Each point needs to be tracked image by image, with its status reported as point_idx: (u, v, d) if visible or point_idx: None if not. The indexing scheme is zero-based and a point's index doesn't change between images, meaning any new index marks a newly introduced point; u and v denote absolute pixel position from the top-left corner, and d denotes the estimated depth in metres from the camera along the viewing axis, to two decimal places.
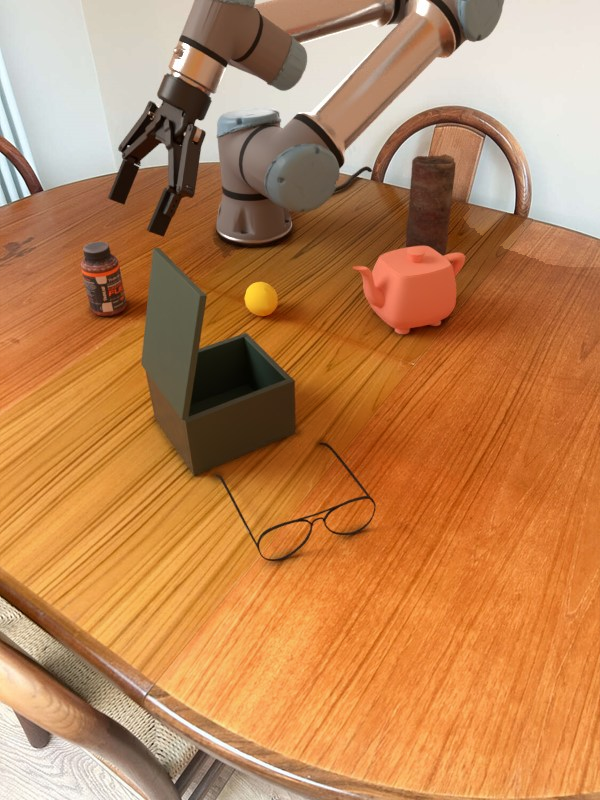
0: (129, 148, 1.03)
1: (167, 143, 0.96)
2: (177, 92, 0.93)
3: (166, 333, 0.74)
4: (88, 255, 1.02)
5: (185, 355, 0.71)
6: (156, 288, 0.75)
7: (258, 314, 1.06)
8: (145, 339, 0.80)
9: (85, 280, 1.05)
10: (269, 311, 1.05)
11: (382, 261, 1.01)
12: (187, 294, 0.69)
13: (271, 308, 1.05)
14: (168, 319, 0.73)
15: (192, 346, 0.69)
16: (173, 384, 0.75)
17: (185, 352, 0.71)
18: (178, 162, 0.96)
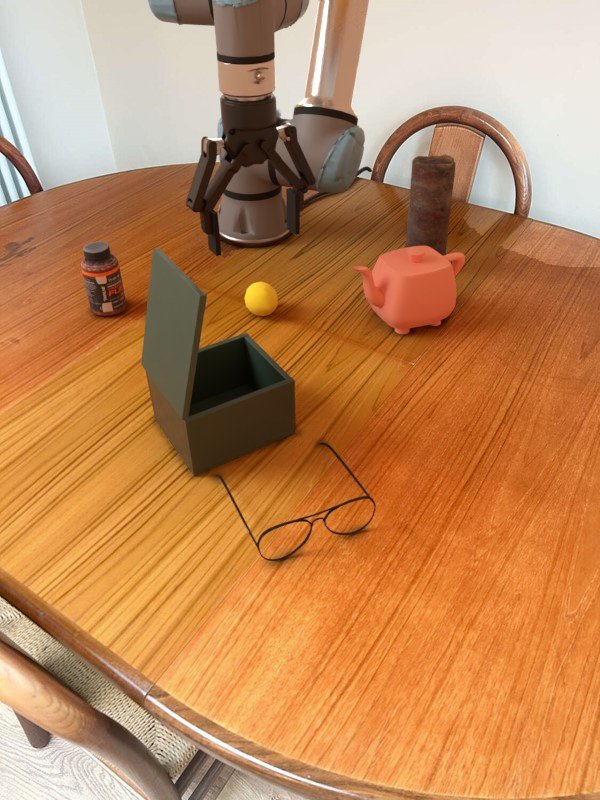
0: (212, 199, 0.92)
1: (276, 160, 0.93)
2: (274, 111, 0.88)
3: (166, 333, 0.74)
4: (88, 255, 1.02)
5: (185, 355, 0.71)
6: (156, 288, 0.75)
7: (258, 314, 1.06)
8: (145, 339, 0.80)
9: (85, 280, 1.05)
10: (269, 311, 1.05)
11: (382, 261, 1.01)
12: (187, 294, 0.69)
13: (271, 308, 1.05)
14: (168, 319, 0.73)
15: (192, 346, 0.69)
16: (173, 384, 0.75)
17: (185, 352, 0.71)
18: None
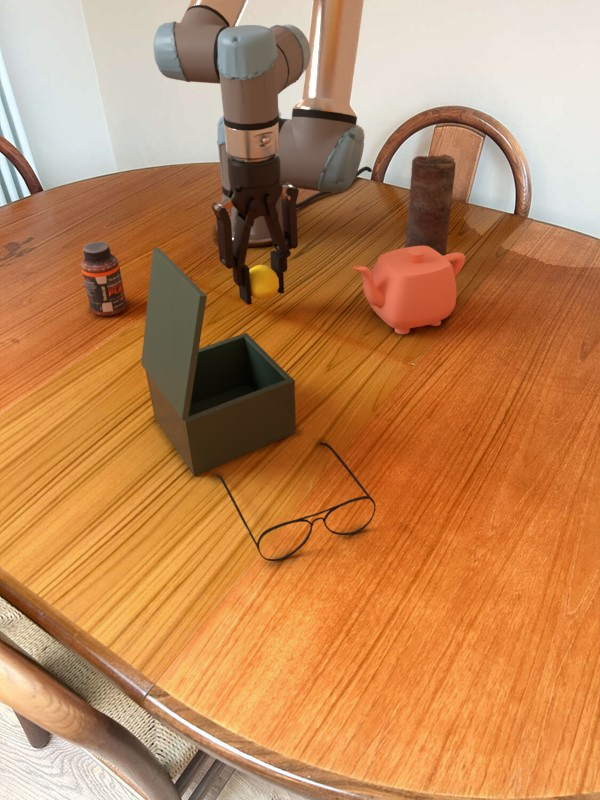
0: (241, 256, 0.99)
1: (274, 216, 0.98)
2: (278, 169, 0.93)
3: (166, 333, 0.74)
4: (88, 255, 1.02)
5: (185, 355, 0.71)
6: (156, 288, 0.75)
7: (259, 298, 1.05)
8: (145, 339, 0.80)
9: (85, 280, 1.05)
10: (270, 294, 1.04)
11: (382, 261, 1.01)
12: (187, 294, 0.69)
13: (272, 291, 1.04)
14: (168, 319, 0.73)
15: (192, 346, 0.69)
16: (173, 384, 0.75)
17: (185, 352, 0.71)
18: None
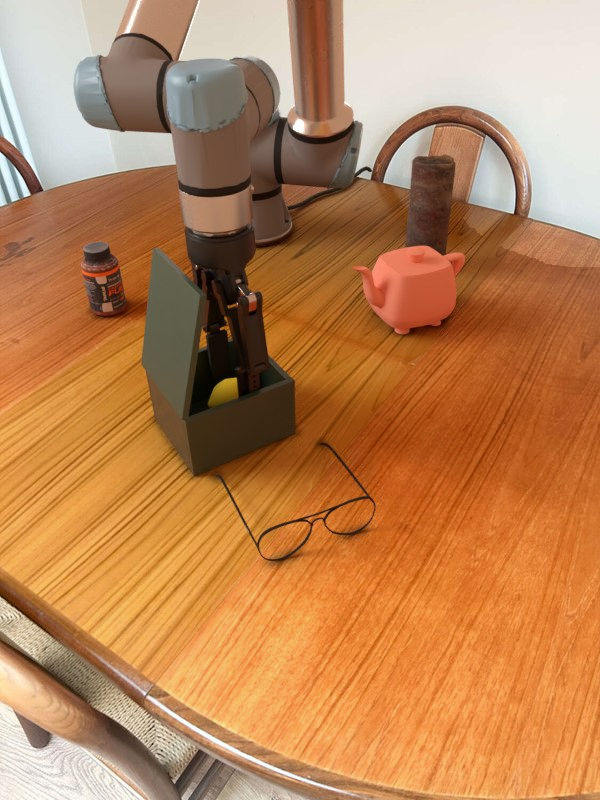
0: None
1: None
2: None
3: (166, 333, 0.74)
4: (88, 255, 1.02)
5: (185, 355, 0.71)
6: (156, 288, 0.75)
7: None
8: (145, 339, 0.80)
9: (85, 280, 1.05)
10: None
11: (382, 261, 1.01)
12: (187, 294, 0.69)
13: None
14: (168, 319, 0.73)
15: (192, 346, 0.69)
16: (173, 384, 0.75)
17: (185, 352, 0.71)
18: None
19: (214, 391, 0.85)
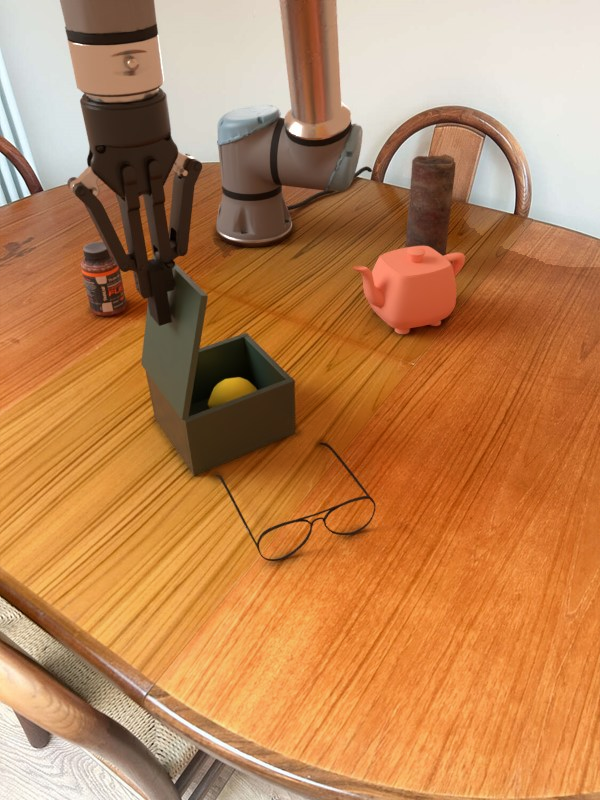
0: (138, 254, 0.66)
1: (157, 198, 0.63)
2: (163, 118, 0.58)
3: (167, 333, 0.74)
4: (88, 255, 1.02)
5: (186, 355, 0.71)
6: None
7: None
8: (145, 339, 0.80)
9: (85, 280, 1.05)
10: None
11: (382, 261, 1.01)
12: (188, 294, 0.69)
13: None
14: None
15: (192, 346, 0.69)
16: (173, 384, 0.75)
17: (186, 352, 0.71)
18: None
19: (214, 391, 0.85)
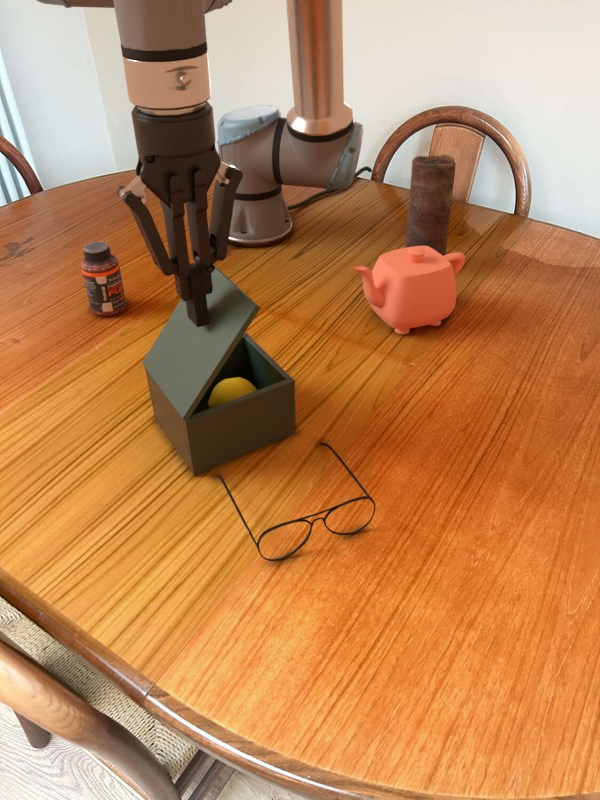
0: (181, 258, 0.69)
1: (201, 206, 0.66)
2: (210, 129, 0.61)
3: (193, 336, 0.77)
4: (88, 255, 1.02)
5: (213, 357, 0.73)
6: None
7: None
8: (158, 339, 0.81)
9: (85, 280, 1.05)
10: None
11: (382, 261, 1.01)
12: (238, 302, 0.73)
13: None
14: None
15: (226, 349, 0.72)
16: (183, 384, 0.75)
17: (214, 354, 0.73)
18: None
19: (214, 391, 0.85)
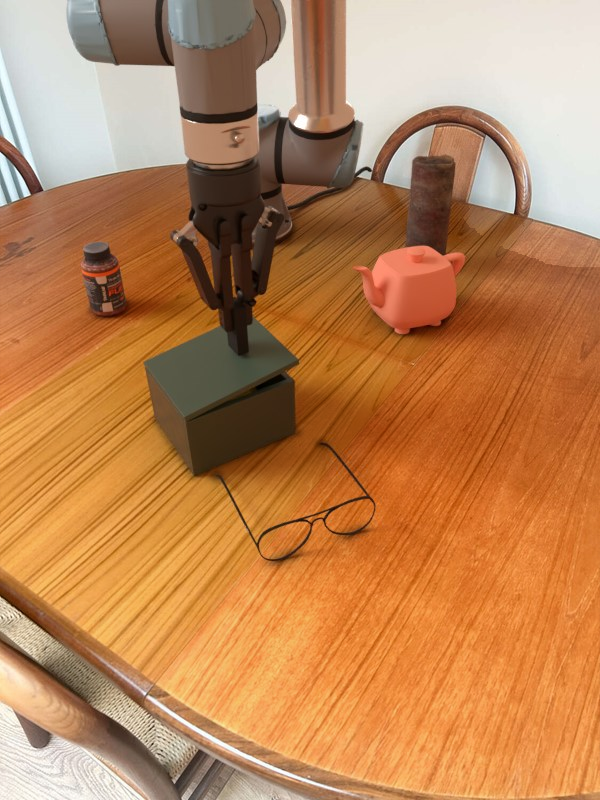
0: (226, 294, 0.74)
1: (246, 247, 0.72)
2: (258, 180, 0.66)
3: (218, 360, 0.81)
4: (88, 255, 1.02)
5: (238, 381, 0.77)
6: None
7: None
8: (172, 350, 0.83)
9: (85, 280, 1.05)
10: None
11: (382, 261, 1.01)
12: (279, 352, 0.80)
13: None
14: (231, 354, 0.81)
15: (255, 380, 0.77)
16: (194, 391, 0.77)
17: (240, 379, 0.77)
18: None
19: None
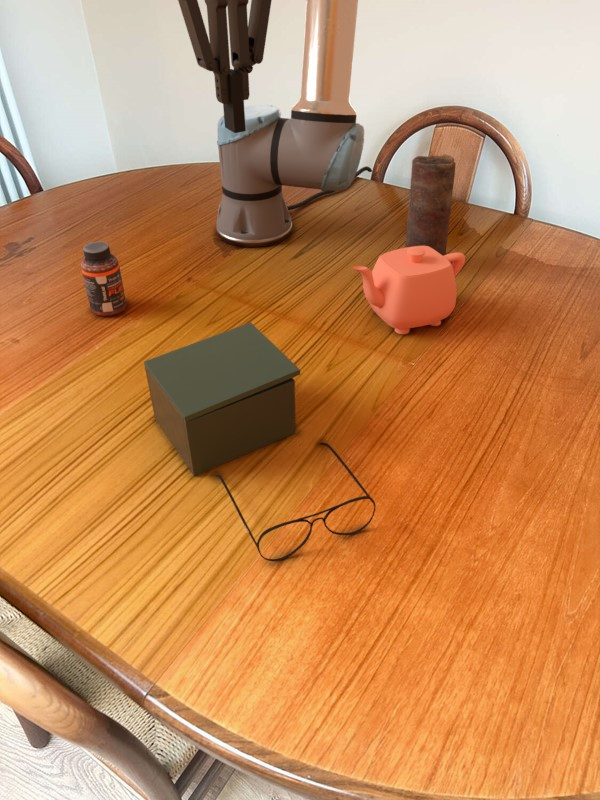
0: (222, 54, 0.74)
1: None
2: None
3: (219, 365, 0.81)
4: (88, 255, 1.02)
5: (239, 386, 0.78)
6: (231, 339, 0.85)
7: None
8: (173, 353, 0.83)
9: (85, 280, 1.05)
10: None
11: (382, 261, 1.01)
12: (280, 361, 0.81)
13: None
14: (233, 360, 0.82)
15: (257, 386, 0.78)
16: (195, 393, 0.77)
17: (241, 385, 0.78)
18: None
19: None
